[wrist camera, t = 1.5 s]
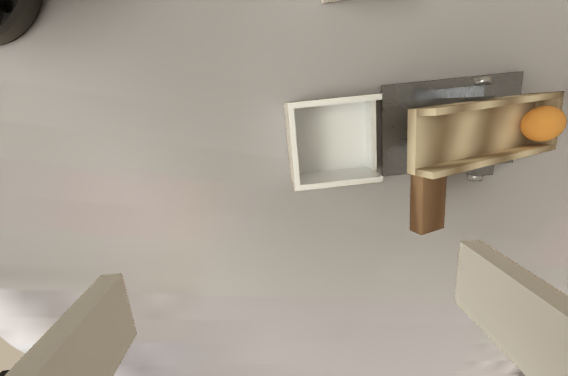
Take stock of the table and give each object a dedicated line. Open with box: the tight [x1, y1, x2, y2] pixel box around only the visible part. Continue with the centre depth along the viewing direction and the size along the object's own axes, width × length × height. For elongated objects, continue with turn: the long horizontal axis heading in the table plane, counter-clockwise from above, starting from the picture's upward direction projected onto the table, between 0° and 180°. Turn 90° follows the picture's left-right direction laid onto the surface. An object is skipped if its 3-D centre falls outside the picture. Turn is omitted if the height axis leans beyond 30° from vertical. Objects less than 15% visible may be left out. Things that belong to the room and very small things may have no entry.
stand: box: [381, 71, 523, 181], centre depth 33 cm, size 17×11×8 cm, turn 95°
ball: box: [520, 106, 567, 141], centre depth 31 cm, size 4×4×4 cm
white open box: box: [284, 93, 383, 191], centre depth 34 cm, size 9×10×6 cm
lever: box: [407, 91, 564, 235], centre depth 30 cm, size 18×12×3 cm, turn 95°
